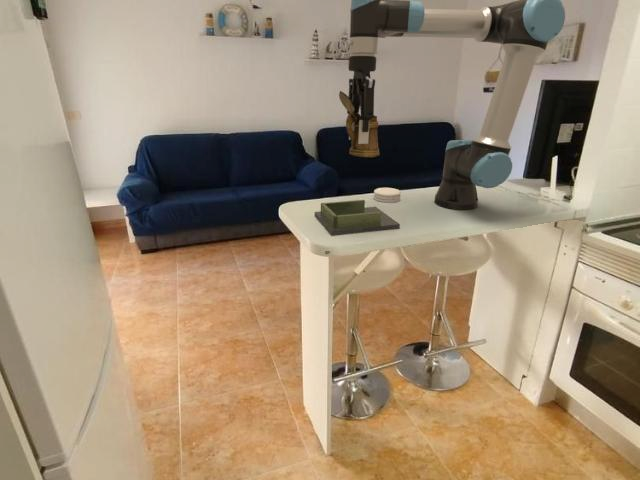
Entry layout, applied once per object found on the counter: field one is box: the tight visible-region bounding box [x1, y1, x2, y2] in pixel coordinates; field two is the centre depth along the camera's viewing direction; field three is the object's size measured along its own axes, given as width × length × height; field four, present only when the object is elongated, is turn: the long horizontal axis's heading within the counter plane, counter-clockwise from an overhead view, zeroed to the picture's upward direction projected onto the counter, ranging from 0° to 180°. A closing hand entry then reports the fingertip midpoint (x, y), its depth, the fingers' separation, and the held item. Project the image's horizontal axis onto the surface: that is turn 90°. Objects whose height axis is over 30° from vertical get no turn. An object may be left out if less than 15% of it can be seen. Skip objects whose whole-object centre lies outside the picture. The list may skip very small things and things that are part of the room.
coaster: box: [373, 187, 402, 204], centre depth 149 cm, size 10×10×4 cm
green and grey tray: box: [314, 199, 401, 237], centre depth 125 cm, size 22×18×5 cm
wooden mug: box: [338, 90, 380, 158], centre depth 114 cm, size 9×14×18 cm, turn 113°
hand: (358, 141), depth 116 cm, fingers closed on wooden mug, 7 cm apart
